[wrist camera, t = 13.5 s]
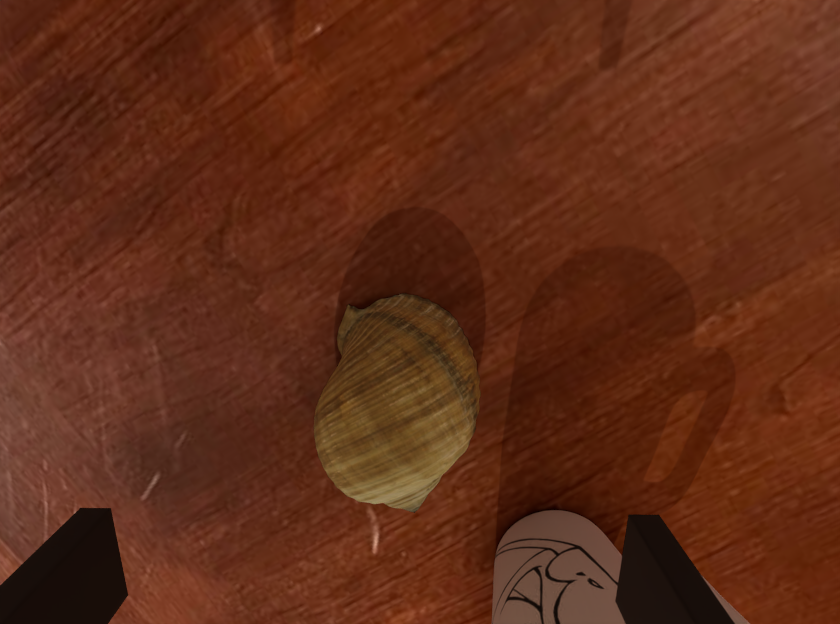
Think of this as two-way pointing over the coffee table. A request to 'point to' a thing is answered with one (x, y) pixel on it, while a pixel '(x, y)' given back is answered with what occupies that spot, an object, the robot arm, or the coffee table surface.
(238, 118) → the coffee table surface
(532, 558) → the mug
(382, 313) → the seashell
